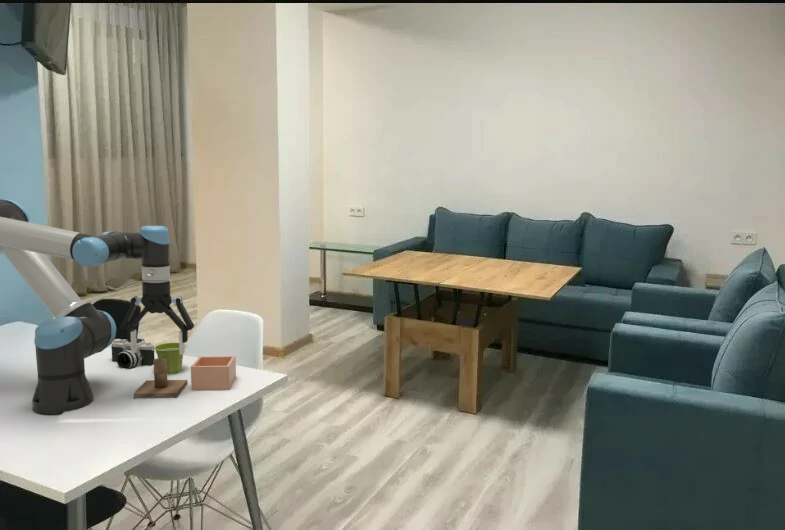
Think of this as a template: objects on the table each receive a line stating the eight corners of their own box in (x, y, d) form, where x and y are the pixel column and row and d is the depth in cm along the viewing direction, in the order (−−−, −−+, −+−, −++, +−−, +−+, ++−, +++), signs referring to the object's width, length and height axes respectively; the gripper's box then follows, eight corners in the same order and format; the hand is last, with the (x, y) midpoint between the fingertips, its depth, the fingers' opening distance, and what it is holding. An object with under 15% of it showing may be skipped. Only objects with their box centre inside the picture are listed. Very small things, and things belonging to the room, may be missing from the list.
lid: (133, 397, 190) (131, 366, 189) (146, 383, 202) (145, 354, 201) (176, 396, 191) (175, 365, 189) (187, 383, 202) (186, 353, 201)
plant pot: (177, 378, 209) (176, 350, 207) (149, 376, 210) (148, 349, 209) (192, 369, 218) (191, 343, 216) (165, 367, 219) (164, 341, 218)
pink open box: (191, 390, 197) (190, 366, 196) (200, 378, 208) (199, 356, 207) (229, 389, 198) (228, 366, 197) (236, 378, 209) (235, 356, 208)
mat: (133, 398, 190) (133, 396, 190) (146, 384, 202) (146, 383, 202) (177, 397, 191) (176, 396, 191) (187, 384, 203) (187, 383, 202)
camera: (100, 368, 219) (98, 338, 217) (118, 361, 227) (116, 332, 225) (141, 373, 214) (140, 342, 212) (158, 365, 222) (157, 336, 221)
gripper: (106, 282, 187) (109, 356, 190) (197, 283, 189) (199, 357, 192) (115, 277, 195) (118, 349, 198) (203, 278, 196) (204, 349, 199)
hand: (158, 353), depth 195 cm, fingers open, 13 cm apart
